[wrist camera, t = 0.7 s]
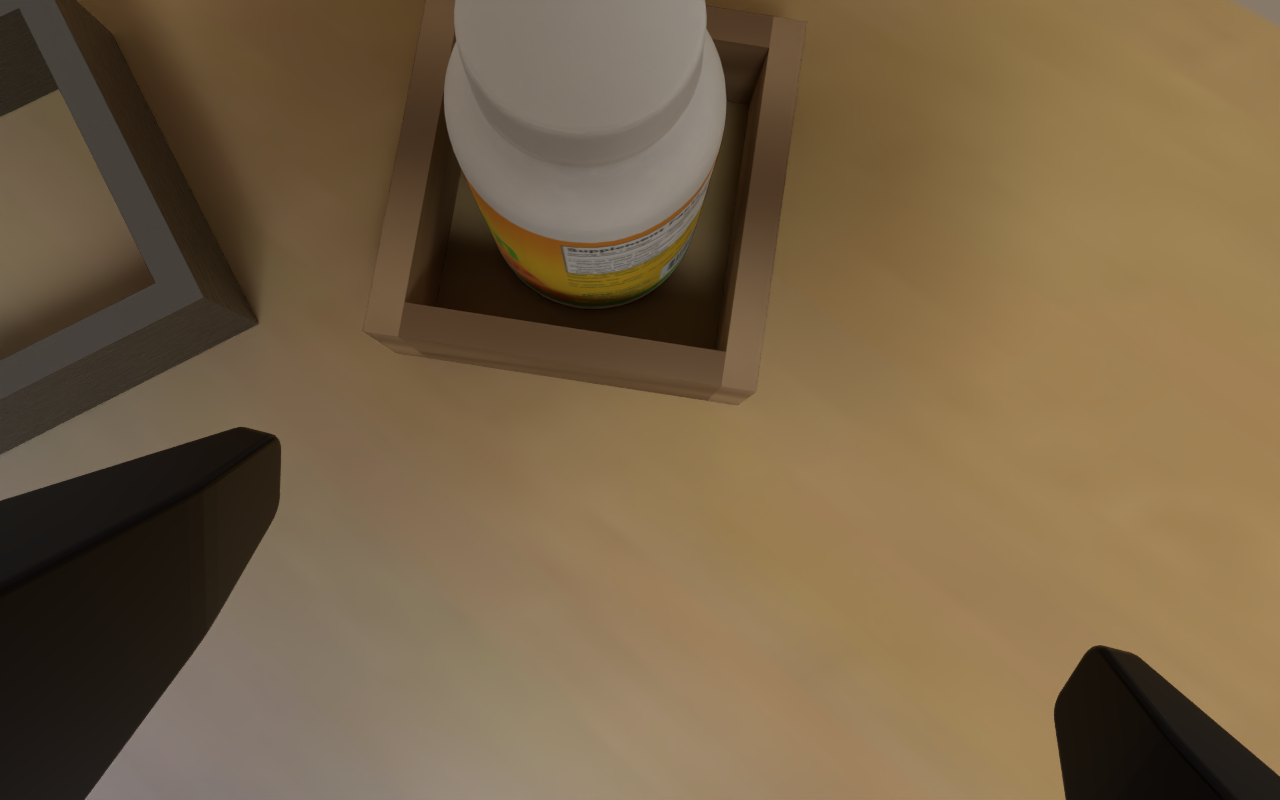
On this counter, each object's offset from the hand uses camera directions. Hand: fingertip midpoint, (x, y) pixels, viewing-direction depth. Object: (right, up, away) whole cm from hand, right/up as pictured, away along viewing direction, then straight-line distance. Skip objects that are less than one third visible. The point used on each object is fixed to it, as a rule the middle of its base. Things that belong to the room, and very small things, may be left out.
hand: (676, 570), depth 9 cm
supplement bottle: (-2, +7, +14) cm, 16 cm away
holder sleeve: (-2, +7, +14) cm, 15 cm away
